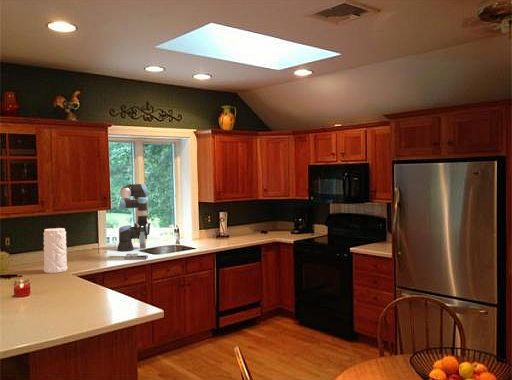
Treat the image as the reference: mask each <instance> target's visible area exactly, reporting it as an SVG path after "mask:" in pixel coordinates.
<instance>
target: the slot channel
mask: <svg viewBox="0 0 512 380" xmlns="http://www.w3.org/2000/svg"><path fill="white" fill-rule="evenodd" d="M148 258H149V255H146V254H145V255H144V254H143V255H139V254H138V257H124V260H123V261H146V260H147V259H148Z"/></svg>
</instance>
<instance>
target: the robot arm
mask: <svg viewBox="0 0 512 380" xmlns="http://www.w3.org/2000/svg"><path fill="white" fill-rule="evenodd" d="M119 194H120V196H121V199H119V208H120V209H135V210H134V211H135V213H134V214H135V215H134V216H135V217H134V218H135V219H134V220H135V223H134V224H133V226H132V225H123V226H120V227H119V228H118V245H117V250H118V252H130V251H134V249H135V248H134V245H133V242H132V240H136V239H138V241H139V244H140V232H145V236H144V243H146V244H147V240H148V235H150V228H151V227H150V226H151V222H148V216H147V215H148V209H147V208H148V207H147V206H148V204H147V203H148V200H147V199H148V198H147V197H148V188H147V185H146V184H145V183H144V184H143V183H133V184H132V183H130V184H126V185H124V186H123V187H122V188H121V189H120V192H119ZM131 197H133V199H131ZM117 250H116V251H117Z"/></svg>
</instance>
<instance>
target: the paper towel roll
mask: <svg viewBox="0 0 512 380" xmlns="http://www.w3.org/2000/svg"><path fill="white" fill-rule="evenodd" d="M43 251H44V252H43V263H44V266H43V269H42V270H43V273H47V274H54V273H55V274H56V273H63V272H66V271H67V270H68V265H67V261H68V259H67V258H68V257H67V254H68V252H67V231H66V228H64V227H63V228H62V227H56V228H44V232H43Z"/></svg>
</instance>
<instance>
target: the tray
mask: <svg viewBox="0 0 512 380" xmlns="http://www.w3.org/2000/svg"><path fill="white" fill-rule="evenodd" d="M124 257H126V255H109V256H106V257H105V258H104V260H105V261H125V260H124Z"/></svg>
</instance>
